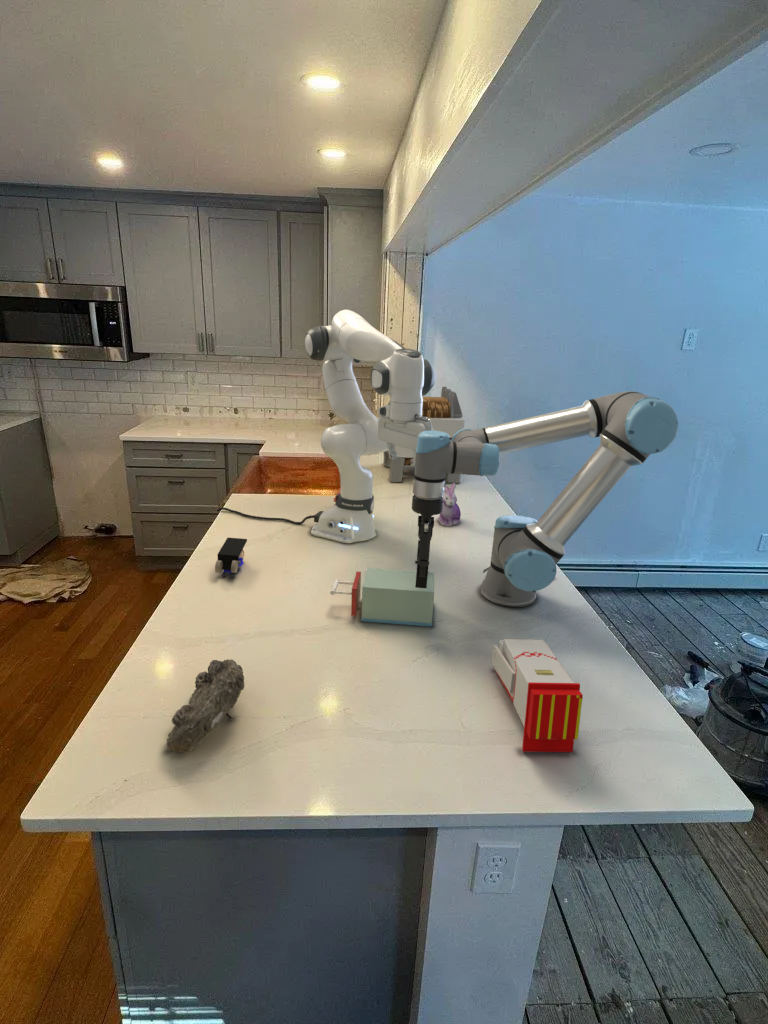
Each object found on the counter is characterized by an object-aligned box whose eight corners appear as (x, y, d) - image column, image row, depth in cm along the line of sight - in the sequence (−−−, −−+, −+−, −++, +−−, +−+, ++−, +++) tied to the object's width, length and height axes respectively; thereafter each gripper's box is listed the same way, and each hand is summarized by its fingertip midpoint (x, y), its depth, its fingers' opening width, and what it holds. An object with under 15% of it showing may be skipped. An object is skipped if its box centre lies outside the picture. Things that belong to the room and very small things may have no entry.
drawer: (328, 613, 144) (328, 587, 141) (334, 595, 153) (335, 569, 151) (415, 620, 143) (417, 593, 140) (416, 601, 152) (418, 575, 150)
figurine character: (238, 584, 162) (249, 557, 175) (236, 562, 158) (247, 536, 172) (215, 584, 161) (227, 556, 175) (212, 561, 158) (225, 535, 171)
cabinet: (361, 621, 143) (362, 586, 140) (365, 599, 154) (367, 567, 151) (431, 626, 142) (434, 592, 139) (431, 604, 153) (434, 572, 150)
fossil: (192, 660, 117) (244, 628, 112) (224, 691, 120) (276, 661, 115) (142, 746, 98) (202, 712, 93) (182, 779, 101) (242, 748, 96)
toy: (540, 622, 128) (592, 691, 98) (535, 677, 130) (584, 759, 101) (487, 621, 127) (523, 690, 98) (483, 676, 130) (516, 758, 101)
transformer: (382, 463, 289) (386, 382, 275) (445, 464, 293) (451, 384, 279) (390, 482, 257) (394, 392, 243) (460, 483, 261) (468, 394, 247)
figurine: (446, 528, 206) (449, 489, 201) (431, 519, 215) (434, 481, 210) (467, 524, 211) (471, 486, 206) (452, 516, 219) (455, 478, 214)
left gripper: (440, 417, 146) (437, 469, 150) (392, 406, 161) (390, 453, 166) (422, 419, 142) (419, 472, 147) (374, 407, 158) (372, 456, 162)
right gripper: (445, 514, 125) (436, 599, 132) (442, 482, 148) (435, 556, 155) (411, 511, 125) (404, 597, 132) (413, 479, 149) (408, 553, 156)
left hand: (403, 462), depth 156 cm, fingers open, 8 cm apart
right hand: (421, 575), depth 144 cm, fingers open, 13 cm apart
